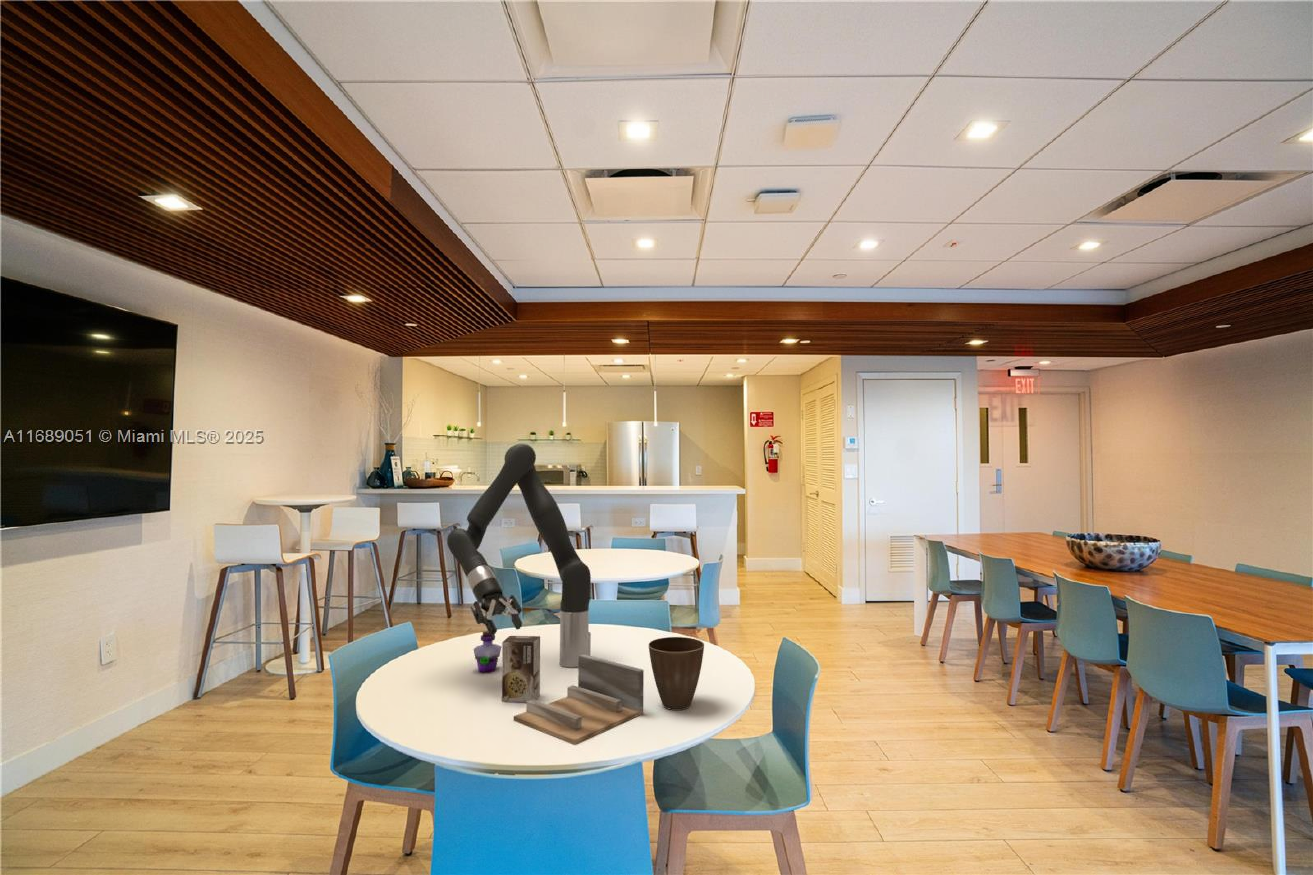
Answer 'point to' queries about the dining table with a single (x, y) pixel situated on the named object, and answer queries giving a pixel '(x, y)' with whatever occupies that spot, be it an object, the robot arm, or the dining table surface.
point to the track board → (588, 720)
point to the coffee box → (520, 668)
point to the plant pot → (676, 669)
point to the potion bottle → (487, 653)
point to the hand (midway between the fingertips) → (507, 630)
